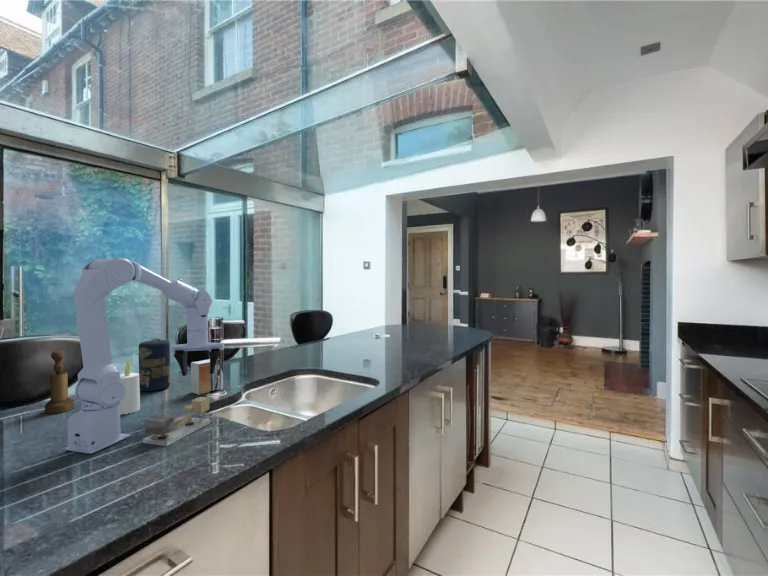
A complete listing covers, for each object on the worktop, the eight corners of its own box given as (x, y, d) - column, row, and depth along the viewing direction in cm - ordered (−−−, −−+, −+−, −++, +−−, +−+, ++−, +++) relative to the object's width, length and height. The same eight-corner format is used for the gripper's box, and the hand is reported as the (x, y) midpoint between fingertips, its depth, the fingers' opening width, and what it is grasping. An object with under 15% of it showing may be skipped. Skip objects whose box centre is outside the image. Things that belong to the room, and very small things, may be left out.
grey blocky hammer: (163, 440, 86) (163, 421, 86) (145, 438, 87) (144, 419, 87) (202, 420, 98) (202, 403, 98) (186, 418, 99) (186, 402, 99)
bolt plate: (167, 446, 85) (166, 441, 85) (143, 442, 87) (142, 438, 87) (210, 423, 98) (210, 419, 98) (188, 420, 100) (188, 416, 100)
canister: (132, 391, 127) (131, 340, 127) (156, 384, 137) (155, 336, 136) (153, 393, 125) (152, 341, 124) (177, 386, 134) (175, 336, 133)
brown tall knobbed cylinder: (79, 406, 113) (77, 348, 112) (59, 414, 106) (57, 352, 106) (60, 405, 114) (58, 348, 113) (38, 413, 107) (36, 352, 107)
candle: (107, 414, 106) (106, 362, 106) (128, 406, 112) (127, 357, 112) (125, 415, 104) (123, 363, 104) (145, 408, 111) (143, 358, 110)
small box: (198, 395, 122) (198, 364, 122) (190, 392, 126) (190, 362, 126) (221, 389, 129) (221, 359, 129) (213, 386, 132) (213, 357, 132)
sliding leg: (201, 419, 97) (201, 401, 97) (183, 417, 99) (183, 399, 99) (209, 415, 100) (209, 397, 100) (192, 413, 102) (191, 396, 102)
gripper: (226, 327, 117) (226, 369, 117) (176, 328, 113) (177, 372, 114) (220, 330, 110) (221, 375, 110) (167, 332, 107) (168, 378, 107)
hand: (198, 374), depth 111 cm, fingers open, 7 cm apart
